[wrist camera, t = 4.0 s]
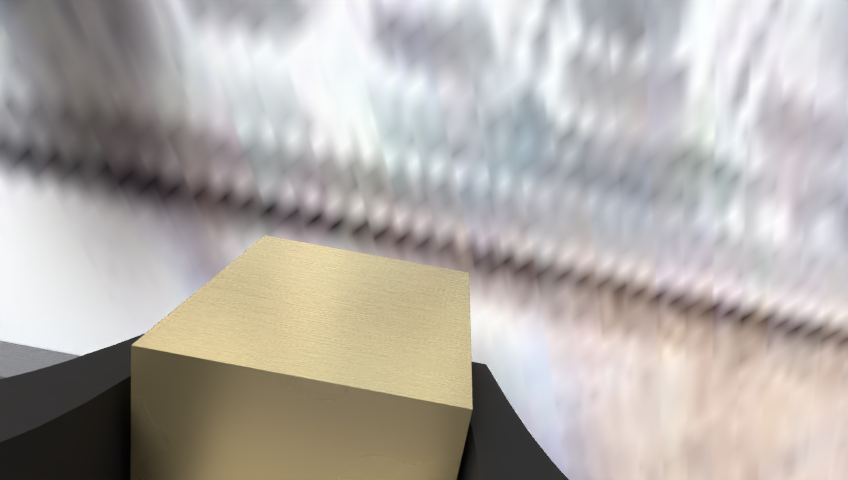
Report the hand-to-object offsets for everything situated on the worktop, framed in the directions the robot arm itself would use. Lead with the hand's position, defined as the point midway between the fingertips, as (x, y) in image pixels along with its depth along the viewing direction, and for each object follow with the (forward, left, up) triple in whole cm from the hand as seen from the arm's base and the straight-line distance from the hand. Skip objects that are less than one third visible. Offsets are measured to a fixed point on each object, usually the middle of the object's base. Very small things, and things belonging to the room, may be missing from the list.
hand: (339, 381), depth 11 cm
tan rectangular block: (0, 0, -2) cm, 2 cm away
